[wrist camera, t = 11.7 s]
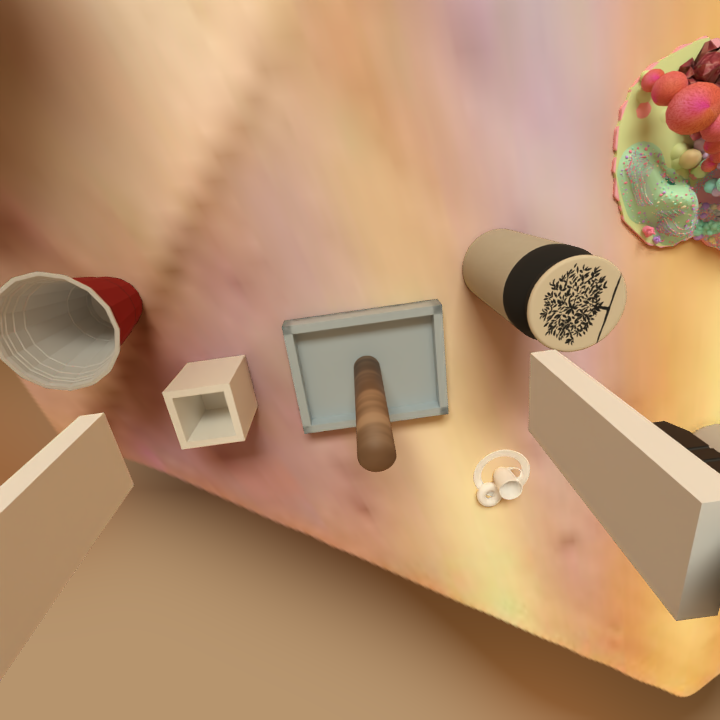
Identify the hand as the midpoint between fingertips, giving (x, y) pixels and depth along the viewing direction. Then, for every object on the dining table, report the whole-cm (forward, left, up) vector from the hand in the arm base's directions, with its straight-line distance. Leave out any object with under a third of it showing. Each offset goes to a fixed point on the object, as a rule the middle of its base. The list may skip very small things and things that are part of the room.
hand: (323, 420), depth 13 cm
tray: (+14, +2, -37) cm, 39 cm away
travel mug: (+4, +18, -37) cm, 41 cm away
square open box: (+14, -16, -37) cm, 42 cm away
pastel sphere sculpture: (-5, +43, -37) cm, 57 cm away
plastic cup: (+2, -25, -37) cm, 45 cm away
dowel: (+14, +2, -36) cm, 39 cm away
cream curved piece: (+33, +15, -37) cm, 52 cm away
